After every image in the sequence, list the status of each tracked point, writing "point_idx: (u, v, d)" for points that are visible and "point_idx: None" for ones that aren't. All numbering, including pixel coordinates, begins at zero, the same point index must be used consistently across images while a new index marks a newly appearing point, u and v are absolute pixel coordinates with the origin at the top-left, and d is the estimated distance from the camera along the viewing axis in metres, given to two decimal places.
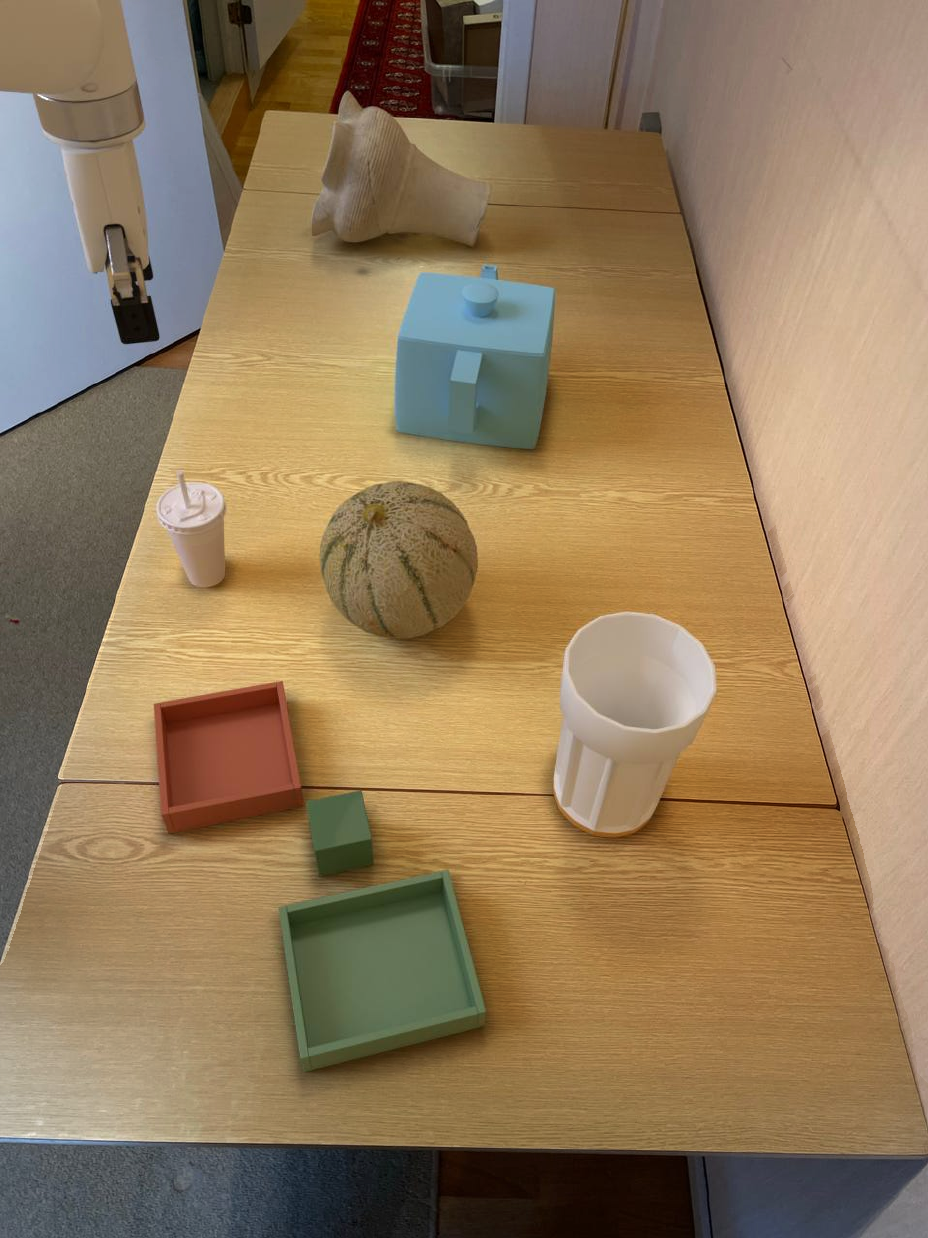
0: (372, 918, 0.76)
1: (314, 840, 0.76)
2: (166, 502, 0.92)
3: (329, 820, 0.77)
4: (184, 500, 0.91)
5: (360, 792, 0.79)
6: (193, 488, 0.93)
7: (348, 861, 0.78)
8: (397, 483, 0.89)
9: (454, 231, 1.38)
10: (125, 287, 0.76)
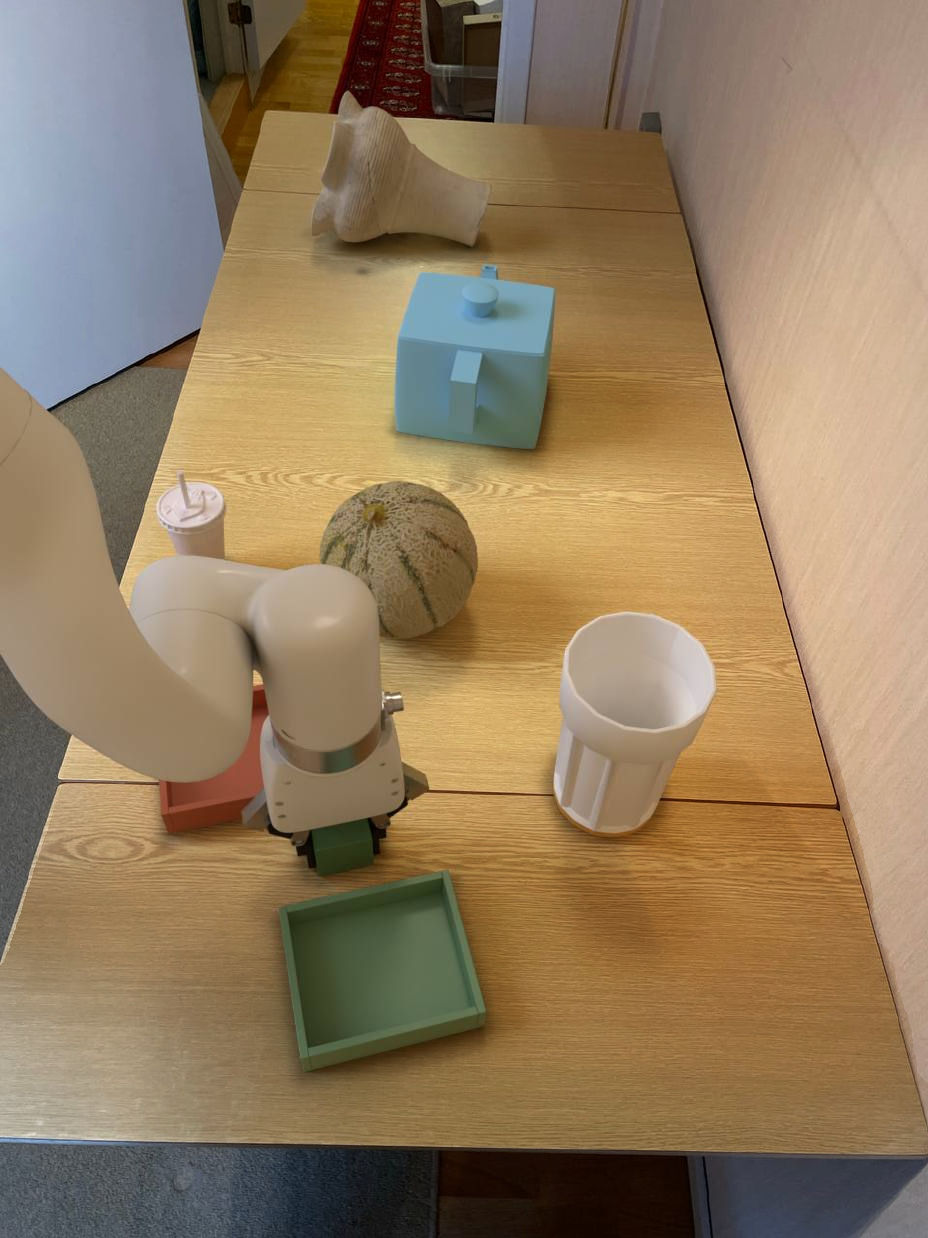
0: (372, 918, 0.76)
1: (314, 840, 0.76)
2: (166, 502, 0.92)
3: None
4: (184, 500, 0.91)
5: None
6: (193, 488, 0.93)
7: (348, 861, 0.78)
8: (397, 483, 0.89)
9: (454, 231, 1.38)
10: None
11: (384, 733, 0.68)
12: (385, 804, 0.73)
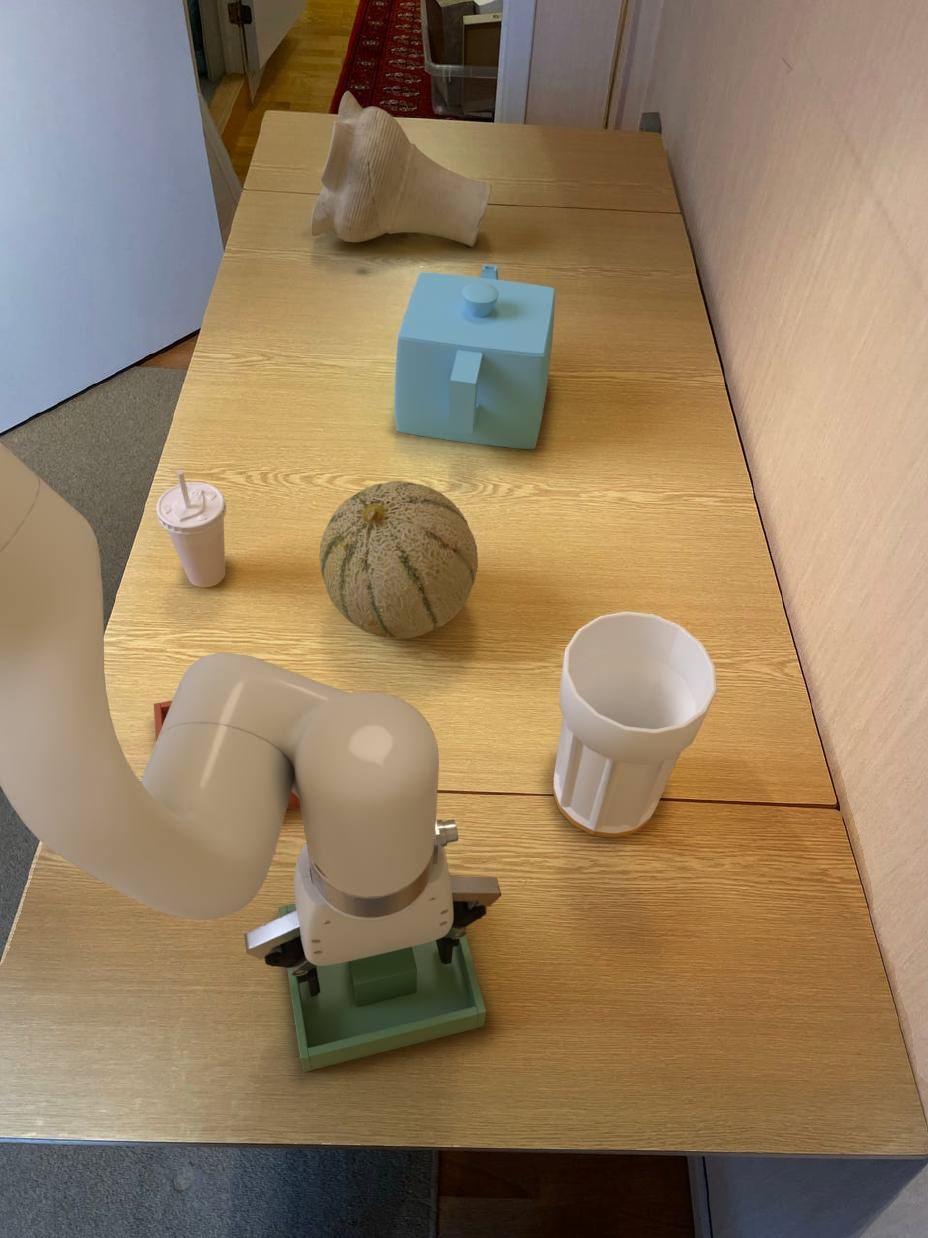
0: None
1: (353, 972, 0.69)
2: (166, 502, 0.92)
3: None
4: (184, 500, 0.91)
5: None
6: (193, 488, 0.93)
7: (389, 991, 0.71)
8: (397, 483, 0.89)
9: (454, 231, 1.38)
10: None
11: (435, 865, 0.60)
12: (432, 934, 0.65)
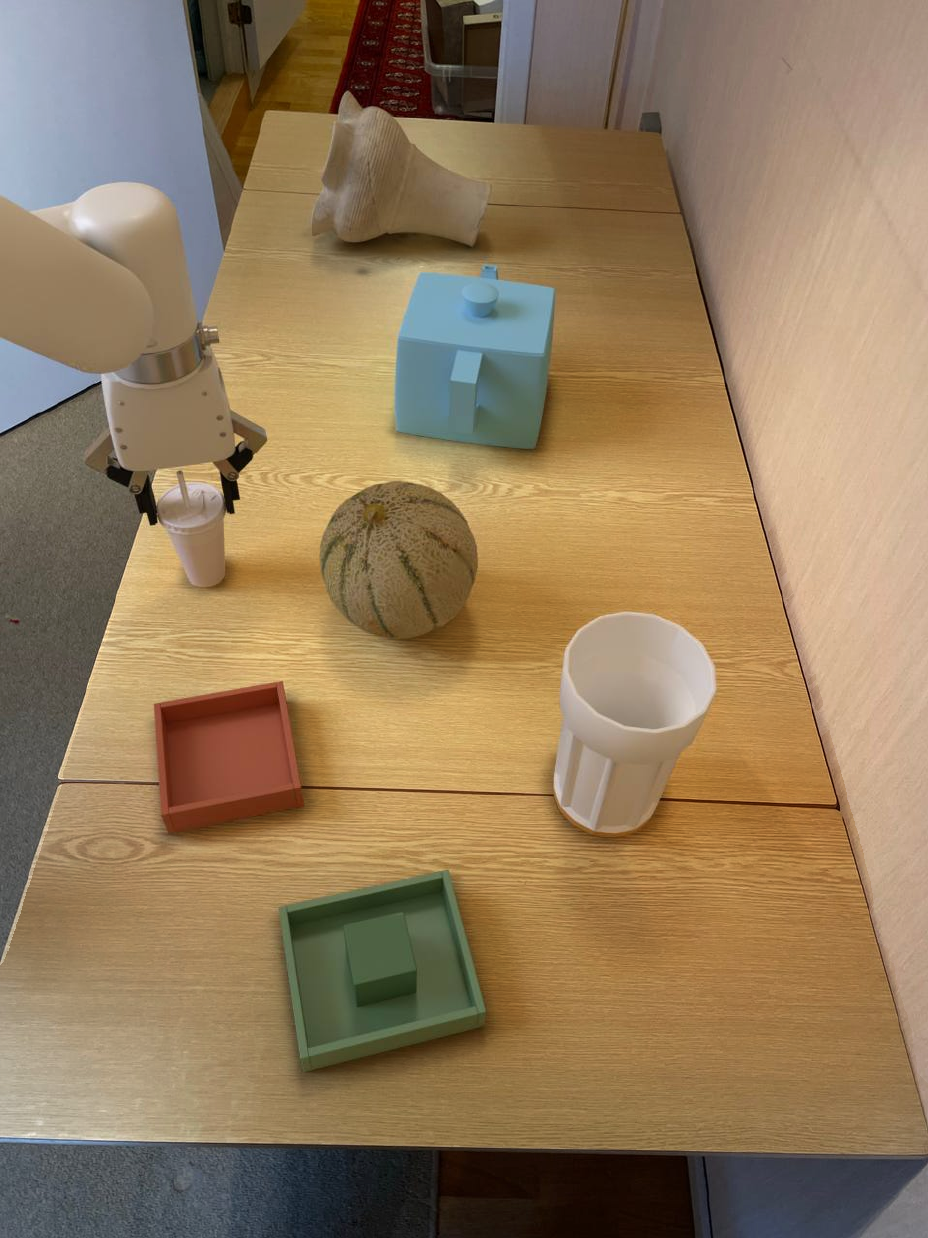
0: (372, 918, 0.76)
1: (353, 972, 0.69)
2: (166, 502, 0.92)
3: (369, 947, 0.70)
4: (184, 500, 0.91)
5: (402, 914, 0.72)
6: (193, 488, 0.93)
7: (389, 991, 0.71)
8: (397, 483, 0.89)
9: (454, 231, 1.38)
10: None
11: (204, 364, 0.80)
12: (217, 447, 0.85)
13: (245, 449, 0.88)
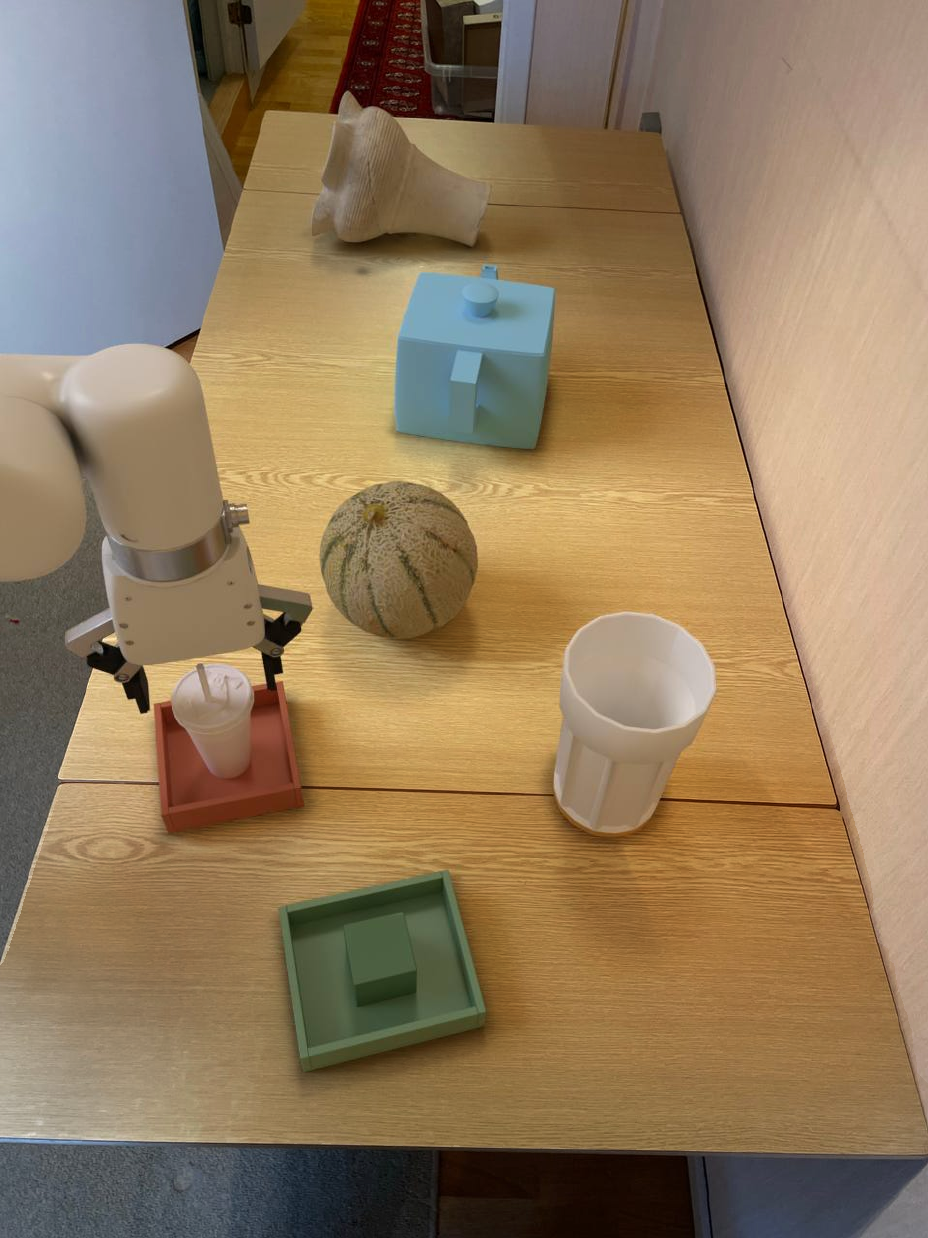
0: (372, 918, 0.76)
1: (353, 972, 0.69)
2: (183, 692, 0.77)
3: (369, 947, 0.70)
4: (204, 694, 0.76)
5: (402, 914, 0.72)
6: (214, 672, 0.79)
7: (389, 991, 0.71)
8: (397, 483, 0.89)
9: (454, 231, 1.38)
10: None
11: (231, 548, 0.65)
12: (243, 636, 0.70)
13: (292, 621, 0.72)
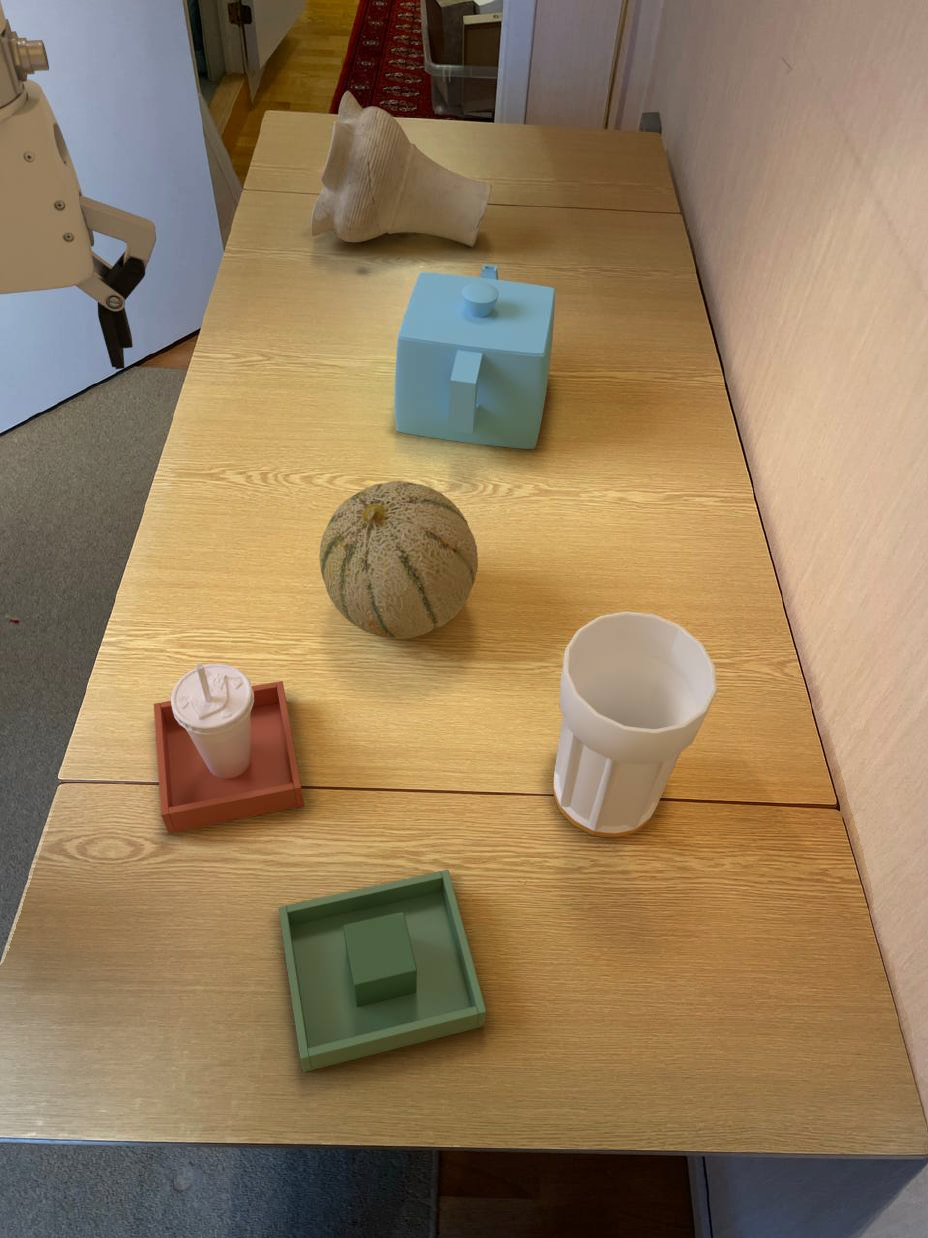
0: (372, 918, 0.76)
1: (353, 972, 0.69)
2: (182, 692, 0.77)
3: (369, 947, 0.70)
4: (204, 694, 0.76)
5: (402, 914, 0.72)
6: (214, 672, 0.79)
7: (389, 991, 0.71)
8: (397, 483, 0.89)
9: (454, 231, 1.38)
10: None
11: (25, 105, 0.49)
12: (61, 260, 0.55)
13: (132, 258, 0.57)
